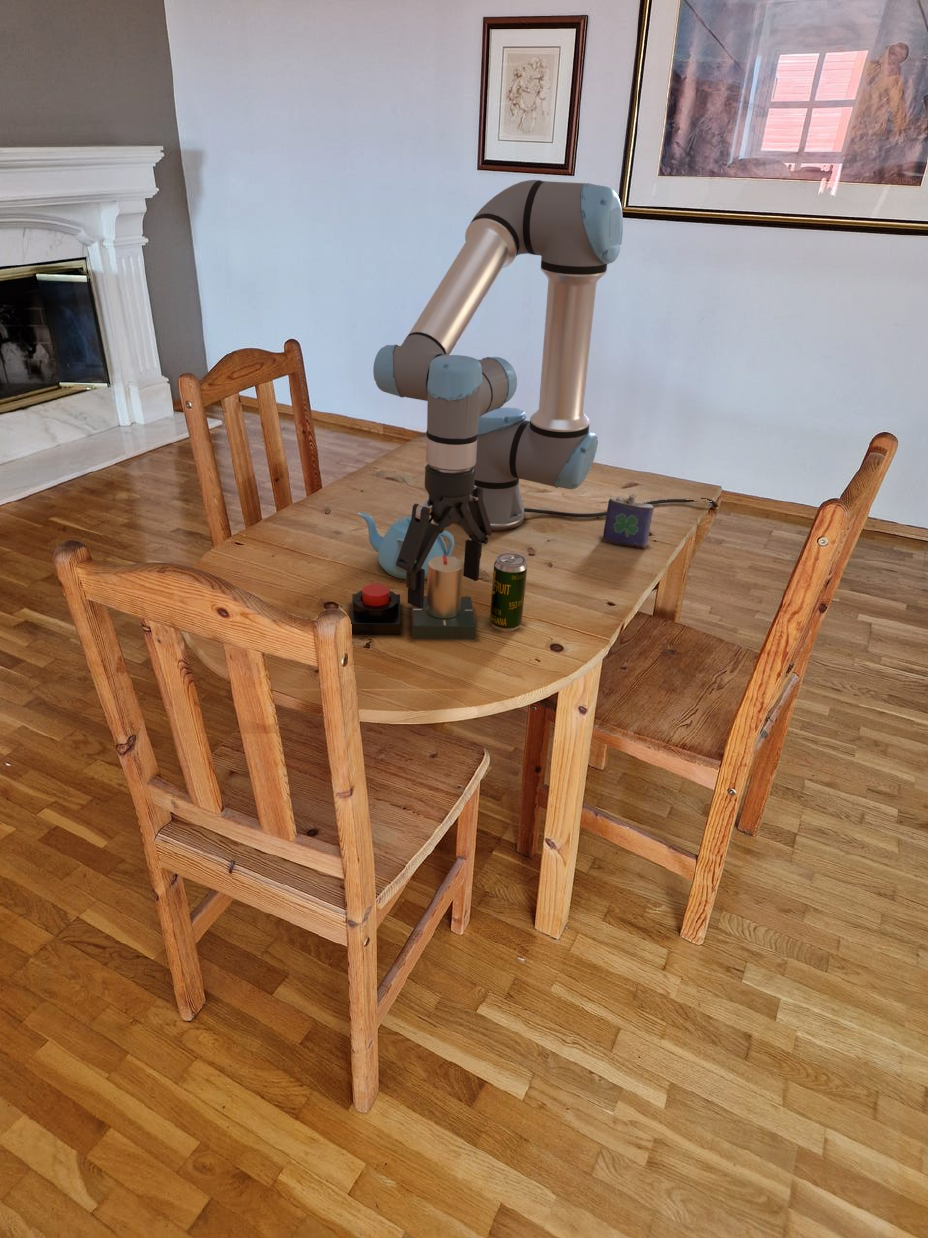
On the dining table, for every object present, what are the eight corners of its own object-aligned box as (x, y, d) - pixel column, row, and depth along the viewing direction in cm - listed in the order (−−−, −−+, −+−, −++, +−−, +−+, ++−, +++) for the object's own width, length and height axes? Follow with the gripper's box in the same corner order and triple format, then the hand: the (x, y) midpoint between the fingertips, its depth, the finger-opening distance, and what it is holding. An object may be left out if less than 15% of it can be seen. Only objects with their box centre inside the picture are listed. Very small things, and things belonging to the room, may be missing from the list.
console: (469, 609, 139) (470, 595, 138) (475, 639, 130) (476, 625, 129) (411, 608, 138) (412, 594, 137) (412, 639, 129) (413, 624, 128)
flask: (647, 545, 167) (656, 496, 162) (645, 550, 165) (653, 500, 159) (603, 536, 170) (611, 487, 165) (600, 541, 168) (607, 492, 162)
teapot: (465, 577, 150) (469, 525, 145) (392, 593, 143) (393, 539, 137) (427, 546, 160) (429, 498, 155) (358, 560, 153) (357, 509, 148)
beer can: (502, 613, 139) (508, 549, 133) (527, 624, 136) (534, 559, 130) (482, 624, 135) (487, 558, 129) (508, 636, 132) (514, 569, 126)
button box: (399, 605, 139) (400, 584, 137) (400, 635, 130) (400, 614, 128) (352, 605, 138) (352, 584, 136) (350, 635, 129) (349, 613, 127)
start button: (389, 594, 134) (389, 583, 133) (389, 607, 131) (389, 596, 130) (362, 594, 134) (362, 583, 133) (361, 607, 130) (361, 595, 129)
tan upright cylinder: (461, 618, 131) (464, 570, 126) (426, 618, 130) (428, 569, 126) (458, 602, 136) (461, 554, 131) (425, 601, 135) (427, 553, 131)
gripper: (483, 442, 131) (474, 560, 142) (372, 477, 114) (372, 609, 125) (520, 453, 127) (509, 574, 138) (411, 492, 110) (407, 626, 121)
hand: (444, 591), depth 131 cm, fingers open, 13 cm apart
